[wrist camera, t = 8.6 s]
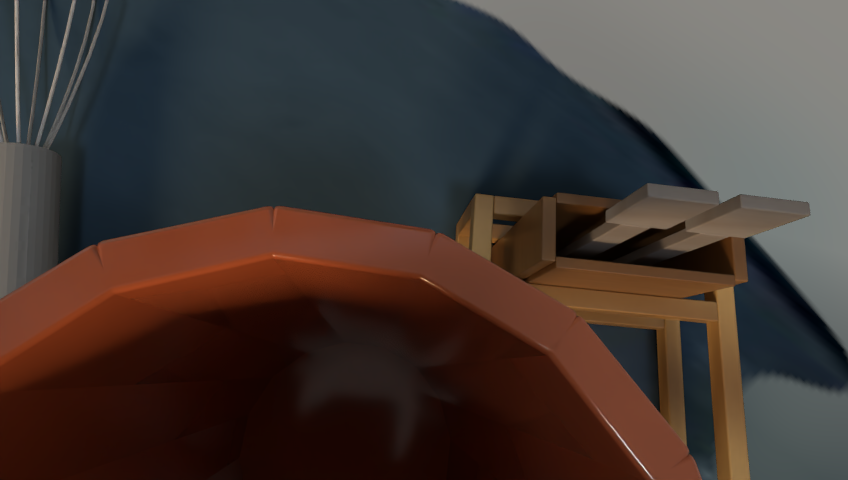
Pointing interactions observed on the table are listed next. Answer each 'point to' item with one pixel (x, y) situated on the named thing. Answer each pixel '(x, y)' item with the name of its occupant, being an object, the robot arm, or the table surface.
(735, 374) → the dish rack
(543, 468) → the tumbler
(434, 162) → the table surface
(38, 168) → the kitchen whisk
